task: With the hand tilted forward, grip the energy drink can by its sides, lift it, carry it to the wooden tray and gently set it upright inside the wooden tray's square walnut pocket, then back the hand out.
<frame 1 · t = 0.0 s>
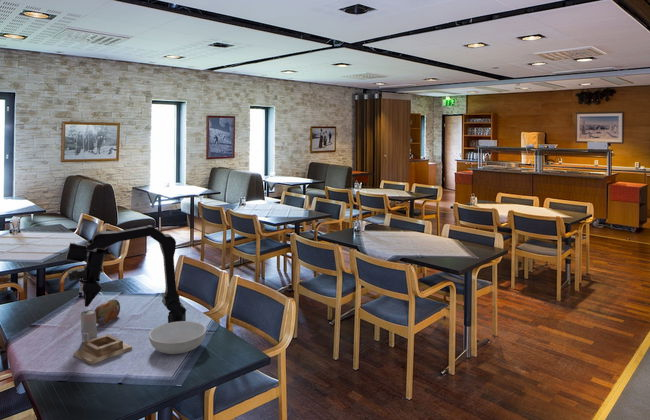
hand: (85, 302, 189), 15 cm above the table, tool pointing down, fingers open, 9 cm apart
serving bowl: (178, 348, 187), on the table
tin: (107, 321, 212), on the table
wooden tray: (103, 352, 182), on the table
energy drink: (89, 342, 191), on the table
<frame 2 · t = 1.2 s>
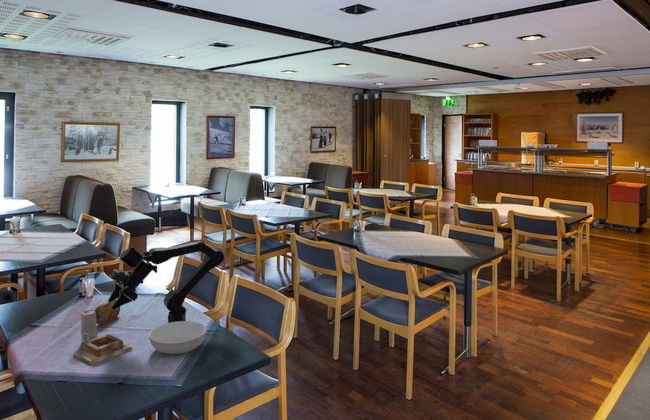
hand: (110, 305, 193), 14 cm above the table, tool tilted 45°, fingers open, 9 cm apart
nothing on the table moved.
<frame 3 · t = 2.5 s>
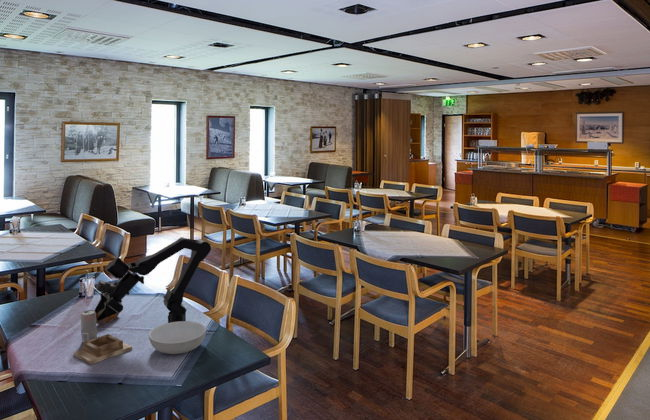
hand: (95, 316, 191), 10 cm above the table, tool tilted 45°, fingers open, 9 cm apart
nothing on the table moved.
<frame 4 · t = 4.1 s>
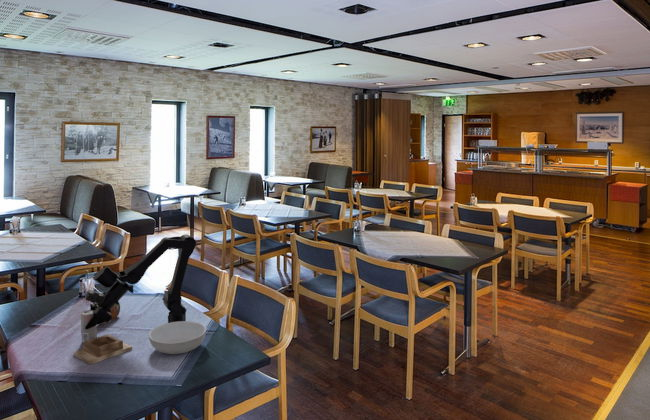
hand: (84, 326, 189), 7 cm above the table, tool tilted 45°, fingers closed on energy drink, 5 cm apart
energy drink: (89, 342, 191), on the table, touching gripper
everything else where it was.
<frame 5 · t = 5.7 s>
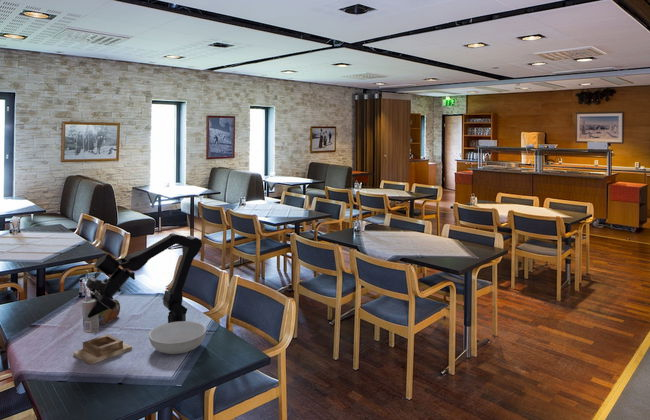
hand: (86, 315, 185), 12 cm above the table, tool tilted 45°, fingers closed on energy drink, 5 cm apart
energy drink: (91, 331, 187), point 5 cm above the table, touching gripper
everything else where it was.
when the fingers open (9 cm above the table, at t = 7.6 s): energy drink stays where it is, resting on wooden tray.
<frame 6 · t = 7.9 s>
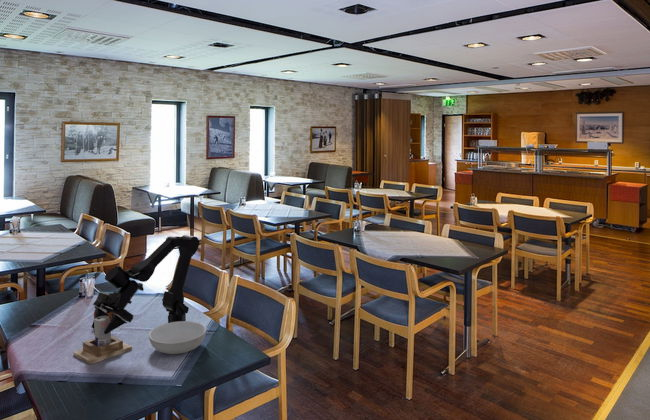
hand: (98, 330, 179), 9 cm above the table, tool tilted 45°, fingers open, 8 cm apart
energy drink: (103, 349, 182), point 1 cm above the table, touching wooden tray
everything else where it was.
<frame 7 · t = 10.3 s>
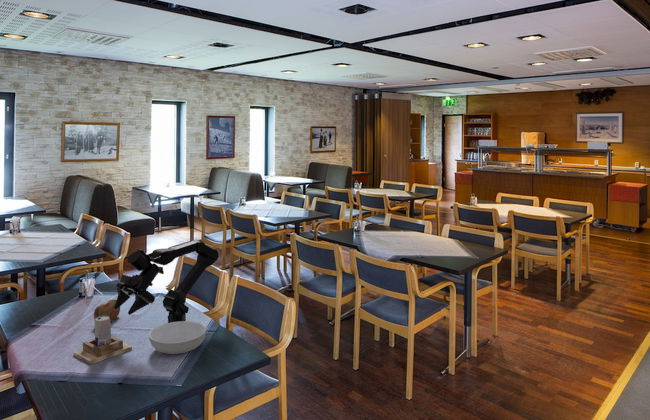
hand: (121, 311, 186), 14 cm above the table, tool tilted 45°, fingers open, 9 cm apart
nothing on the table moved.
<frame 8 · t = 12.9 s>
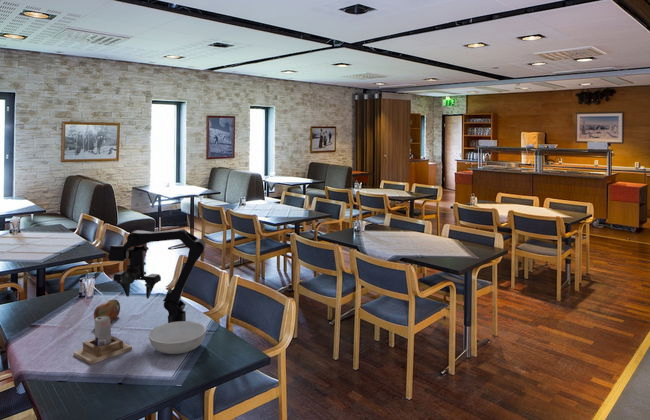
hand: (137, 297, 204), 13 cm above the table, tool pointing down, fingers open, 9 cm apart
nothing on the table moved.
at the end: energy drink 0.2 cm off-centre on the wooden tray, point 1.0 cm above the wooden tray's base; energy drink tilted 0°; the gripper is holding nothing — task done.
